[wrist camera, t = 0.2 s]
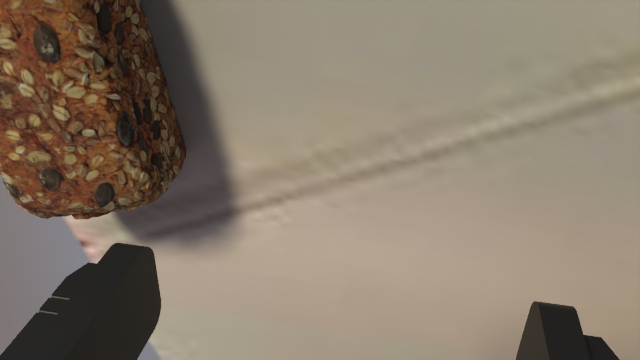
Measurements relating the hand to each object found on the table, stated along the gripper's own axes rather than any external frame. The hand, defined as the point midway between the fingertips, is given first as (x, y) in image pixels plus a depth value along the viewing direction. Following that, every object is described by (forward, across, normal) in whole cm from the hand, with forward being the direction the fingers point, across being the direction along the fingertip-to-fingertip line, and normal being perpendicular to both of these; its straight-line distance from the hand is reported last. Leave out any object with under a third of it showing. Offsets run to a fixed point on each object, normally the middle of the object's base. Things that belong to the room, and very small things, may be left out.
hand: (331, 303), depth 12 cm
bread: (+28, +22, +6) cm, 36 cm away
